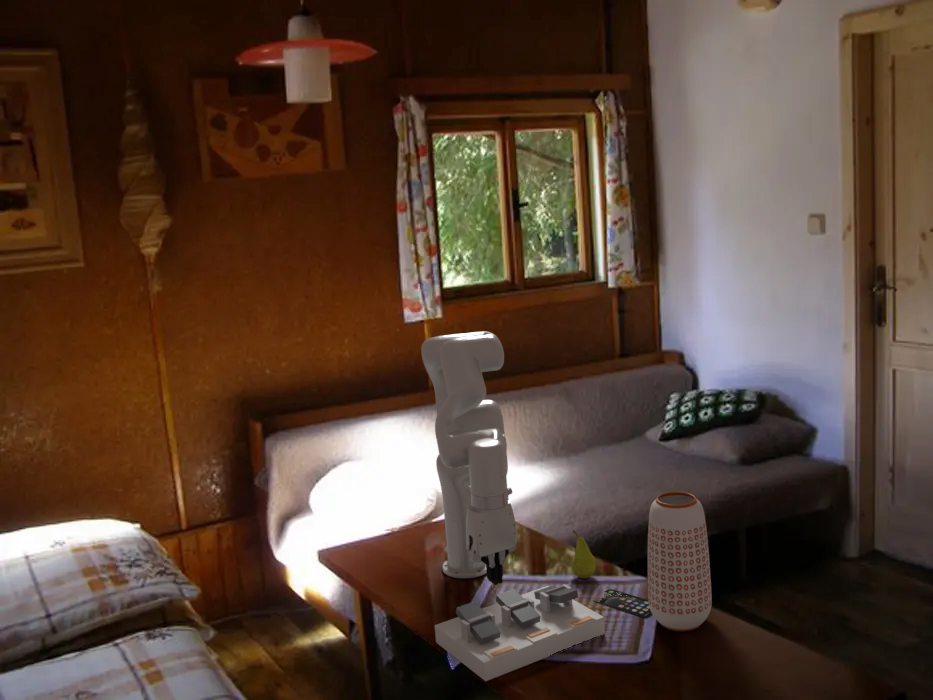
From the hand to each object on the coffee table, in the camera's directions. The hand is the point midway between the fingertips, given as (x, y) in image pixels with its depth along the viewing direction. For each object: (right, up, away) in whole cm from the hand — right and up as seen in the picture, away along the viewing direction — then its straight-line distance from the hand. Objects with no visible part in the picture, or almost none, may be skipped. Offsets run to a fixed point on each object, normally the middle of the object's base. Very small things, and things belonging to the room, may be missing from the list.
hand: (495, 581), depth 206 cm
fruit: (+22, -7, +32) cm, 40 cm away
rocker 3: (+13, -5, +8) cm, 17 cm away
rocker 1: (-4, -8, -1) cm, 9 cm away
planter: (+40, -10, +7) cm, 42 cm away
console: (+5, -13, +5) cm, 15 cm away
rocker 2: (+5, -6, +4) cm, 9 cm away
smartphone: (+30, -9, +17) cm, 36 cm away
